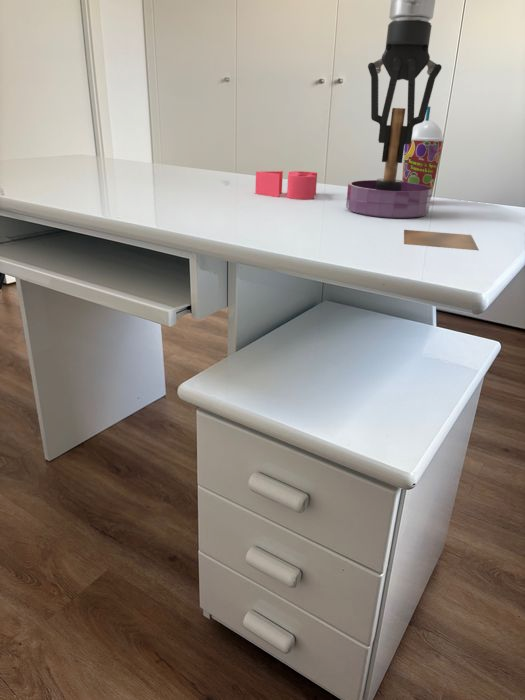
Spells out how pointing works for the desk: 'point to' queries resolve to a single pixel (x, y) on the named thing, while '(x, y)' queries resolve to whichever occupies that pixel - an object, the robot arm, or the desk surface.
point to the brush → (393, 153)
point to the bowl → (388, 200)
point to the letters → (298, 184)
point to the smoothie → (423, 153)
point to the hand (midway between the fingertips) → (391, 161)
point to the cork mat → (439, 239)
